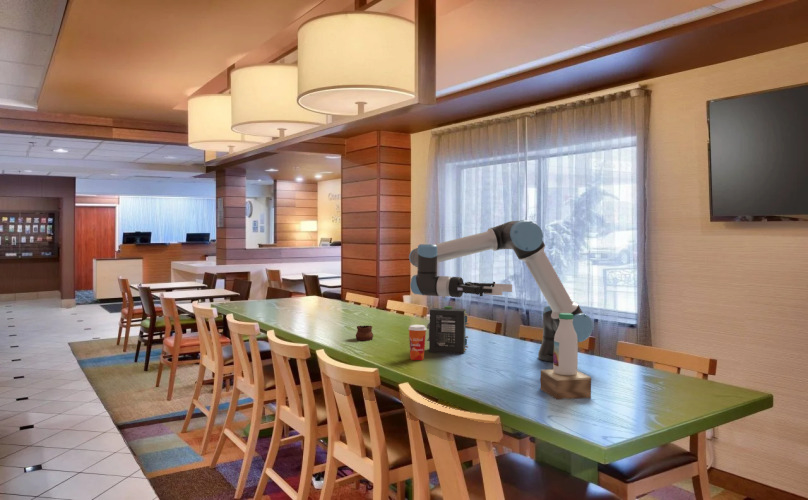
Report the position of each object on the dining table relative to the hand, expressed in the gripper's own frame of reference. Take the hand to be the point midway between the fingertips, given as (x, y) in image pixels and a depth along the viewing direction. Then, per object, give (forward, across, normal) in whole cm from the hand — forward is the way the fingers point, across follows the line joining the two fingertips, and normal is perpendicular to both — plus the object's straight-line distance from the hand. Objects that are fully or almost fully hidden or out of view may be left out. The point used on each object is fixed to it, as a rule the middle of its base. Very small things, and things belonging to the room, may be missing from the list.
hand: (507, 289), depth 201 cm
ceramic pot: (-83, -46, -34) cm, 101 cm away
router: (-37, -40, -33) cm, 64 cm away
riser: (+22, +5, -33) cm, 40 cm away
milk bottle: (+22, +5, -27) cm, 35 cm away
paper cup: (-43, -18, -33) cm, 57 cm away
